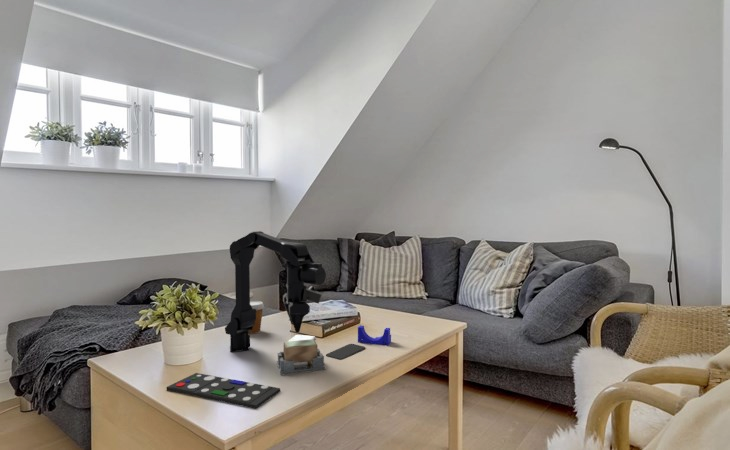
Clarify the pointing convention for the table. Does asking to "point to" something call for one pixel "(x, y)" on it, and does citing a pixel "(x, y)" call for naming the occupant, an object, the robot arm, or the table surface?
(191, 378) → the remote control
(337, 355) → the phone
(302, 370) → the chassis
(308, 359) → the brown and green block
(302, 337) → the external hard drive
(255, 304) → the disposable coffee cup
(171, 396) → the table surface
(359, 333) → the blue u-shaped cradle
